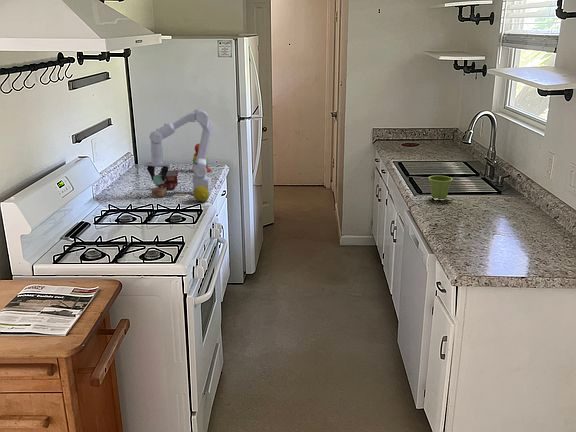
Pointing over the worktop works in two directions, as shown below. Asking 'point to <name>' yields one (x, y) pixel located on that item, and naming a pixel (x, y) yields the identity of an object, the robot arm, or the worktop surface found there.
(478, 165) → the worktop surface
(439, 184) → the plant pot
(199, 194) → the lemon
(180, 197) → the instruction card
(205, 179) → the robot arm
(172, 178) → the toy fire truck
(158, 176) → the teal block
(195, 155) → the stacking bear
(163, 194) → the walnut block
